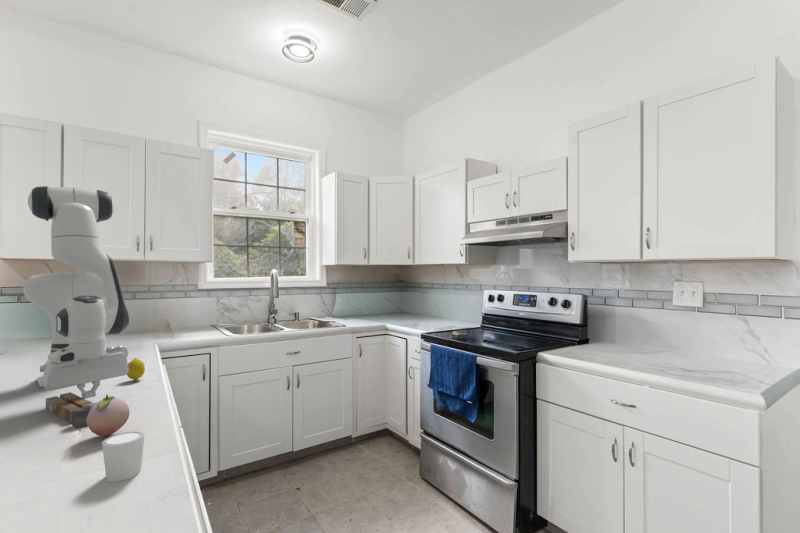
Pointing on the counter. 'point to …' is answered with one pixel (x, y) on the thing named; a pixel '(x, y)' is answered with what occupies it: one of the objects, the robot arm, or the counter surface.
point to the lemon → (135, 369)
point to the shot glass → (123, 455)
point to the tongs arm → (75, 399)
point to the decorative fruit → (107, 416)
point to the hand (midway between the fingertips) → (88, 397)
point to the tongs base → (68, 411)
